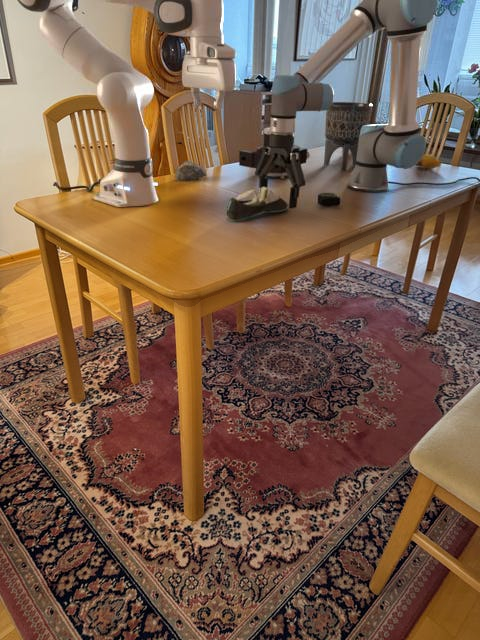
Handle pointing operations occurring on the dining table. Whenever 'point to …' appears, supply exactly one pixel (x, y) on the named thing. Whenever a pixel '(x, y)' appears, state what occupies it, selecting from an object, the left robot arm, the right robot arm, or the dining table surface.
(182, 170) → the rock
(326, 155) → the planter
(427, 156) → the toy
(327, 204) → the tape measure
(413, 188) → the dining table surface
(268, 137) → the mechanical component
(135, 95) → the left robot arm
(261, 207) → the ballet flat
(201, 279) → the dining table surface
